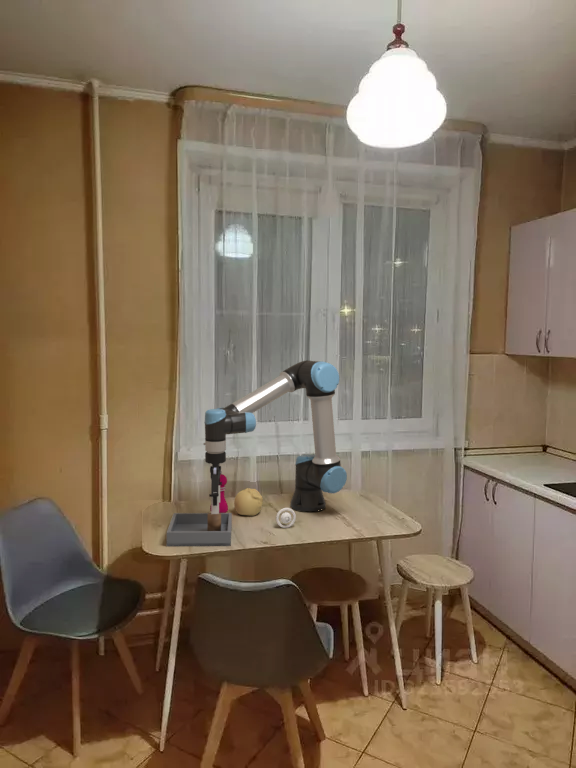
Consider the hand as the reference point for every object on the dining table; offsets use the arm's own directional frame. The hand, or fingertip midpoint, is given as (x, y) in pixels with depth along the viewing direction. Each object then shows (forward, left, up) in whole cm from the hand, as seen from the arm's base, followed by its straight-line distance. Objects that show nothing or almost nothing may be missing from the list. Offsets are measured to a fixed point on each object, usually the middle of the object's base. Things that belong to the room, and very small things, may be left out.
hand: (215, 507), depth 219 cm
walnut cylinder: (+1, 0, -9) cm, 9 cm away
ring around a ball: (-27, -9, -11) cm, 30 cm away
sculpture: (-13, -26, -11) cm, 31 cm away
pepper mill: (-1, -19, -11) cm, 22 cm away
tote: (+5, 0, -10) cm, 12 cm away
